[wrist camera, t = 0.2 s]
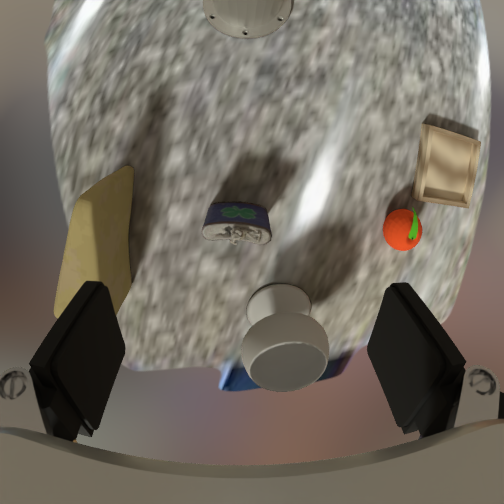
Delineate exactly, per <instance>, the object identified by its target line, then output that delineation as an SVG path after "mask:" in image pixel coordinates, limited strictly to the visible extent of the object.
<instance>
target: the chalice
mask: <svg viewBox="0 0 504 504" xmlns="http://www.w3.org/2000/svg"><path fill="white" fill-rule="evenodd" d="M310 310H311V303H310V300H309V297H308V296H307V294H306V293H305V292H304V291H303V290H301V289H300V288H298V287H296V286H293V285H289V284H274V285H269V286H267V287H264V288H262V289H261V290H259V291H257V292H256V293H255V294H254V295H253V296H252V297H251V299H250V300H249V302H248V305H247V308H246V315H247V318H248V320H249V322H250V324H251V325H252V327H251V328H250V329H249V331H248V332H247V334H246V335H245V337H244V339H243V343H242V349H241V351H242V360H243V363H244V366H245V368H246V371H247V373H248V375H249V376H250V378H251V379H252V380H253V381H254V382H255V383H256V384H257V385H259V386H260V387H262V388H264V389H267V390H270V391H276V392H287V391H294V390H298V389H301V388H304V387H307V386H308V385H310V384H312V383H314V382H315V381H316V380H317V379H319V377H320V376H321V375H322V374H323V372H324V370H325V368H326V366H327V363H328V358H329V343H328V337H327V334H326V332H325V330H324V328H323V327H322V326H321V325H320V324H319V323H318V322H317V321H316V320H315V319H313V318H311V317H310V316H309V314H310Z"/></svg>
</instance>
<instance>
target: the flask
mask: <svg viewBox="0 0 504 504" xmlns="http://www.w3.org/2000/svg"><path fill="white" fill-rule="evenodd" d="M202 235H203V237H204V238H205V239H207V240H212V241H213V240H223V239H226V240H228V239H229V240H230V242H231V243H233V244H234V245H237V243H235V240H242V241H248V242H252V243H255V244H259V245H264V244H266V243H268V242H269V241H271V237H272V233H271V229H270V223H269V217H268V214H267V211H266V209H265V208H264V207H263V206H260V205H257V204H253V203H248V202H247V203H246V202H218V203H214V204H212V205H211V206H210V207H209V208H208V212H207V216H206V219H205V222H204V225H203V228H202Z"/></svg>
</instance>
